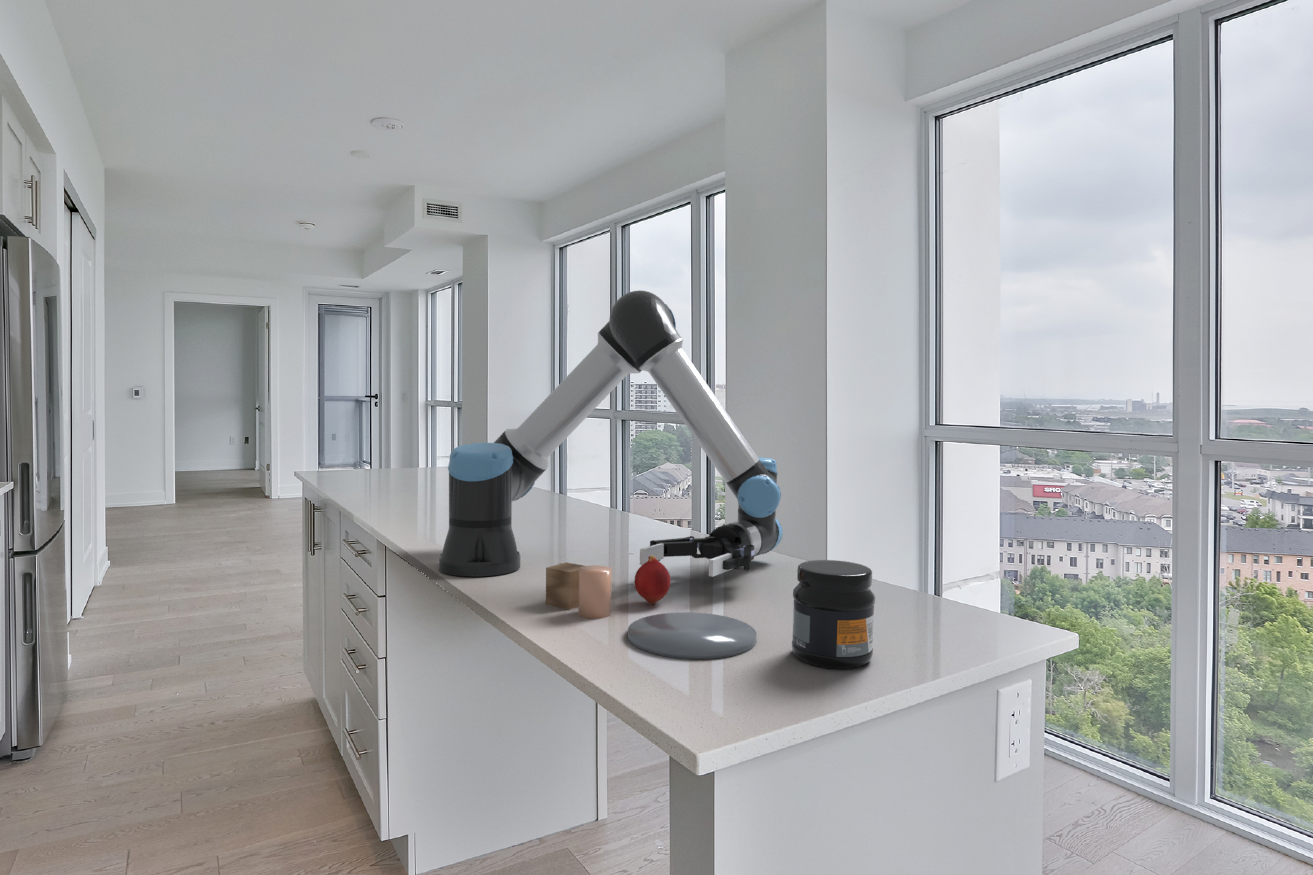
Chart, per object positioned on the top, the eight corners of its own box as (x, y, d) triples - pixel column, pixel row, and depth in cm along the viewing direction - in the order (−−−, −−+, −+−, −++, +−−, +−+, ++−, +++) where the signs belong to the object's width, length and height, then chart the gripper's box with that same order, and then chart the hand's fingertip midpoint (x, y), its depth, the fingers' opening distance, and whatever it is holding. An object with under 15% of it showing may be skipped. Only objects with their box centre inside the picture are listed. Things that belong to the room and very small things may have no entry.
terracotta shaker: (571, 614, 121) (572, 569, 121) (591, 607, 125) (592, 563, 125) (597, 620, 118) (598, 574, 118) (617, 613, 123) (618, 568, 122)
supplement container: (889, 666, 101) (893, 573, 100) (818, 675, 97) (821, 579, 97) (842, 641, 111) (845, 556, 110) (776, 648, 107) (779, 561, 106)
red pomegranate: (652, 597, 132) (653, 550, 132) (677, 604, 128) (678, 555, 127) (626, 603, 128) (627, 554, 128) (651, 611, 124) (652, 560, 123)
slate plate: (601, 641, 109) (602, 634, 108) (671, 612, 124) (671, 605, 124) (717, 668, 99) (717, 661, 99) (777, 633, 114) (777, 626, 114)
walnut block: (545, 604, 127) (546, 567, 126) (565, 598, 131) (566, 562, 130) (569, 610, 124) (570, 572, 123) (589, 603, 128) (590, 566, 128)
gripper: (794, 572, 144) (741, 596, 126) (677, 554, 157) (614, 573, 139) (795, 531, 143) (743, 549, 125) (677, 516, 157) (615, 531, 139)
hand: (675, 562), depth 132 cm, fingers open, 13 cm apart
